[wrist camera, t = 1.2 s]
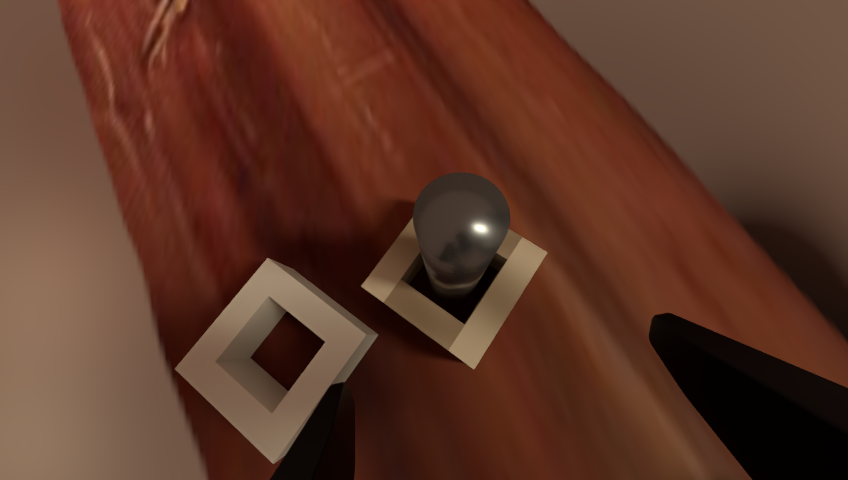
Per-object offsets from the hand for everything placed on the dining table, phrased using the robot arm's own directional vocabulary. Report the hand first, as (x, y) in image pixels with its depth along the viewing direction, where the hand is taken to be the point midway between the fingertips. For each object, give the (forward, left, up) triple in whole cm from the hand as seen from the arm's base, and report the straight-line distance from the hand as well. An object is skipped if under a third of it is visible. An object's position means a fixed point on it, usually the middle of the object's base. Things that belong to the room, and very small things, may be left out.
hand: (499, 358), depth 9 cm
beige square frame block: (+3, +3, -13) cm, 13 cm away
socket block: (-7, +9, -13) cm, 17 cm away
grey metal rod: (+3, +3, -13) cm, 13 cm away
